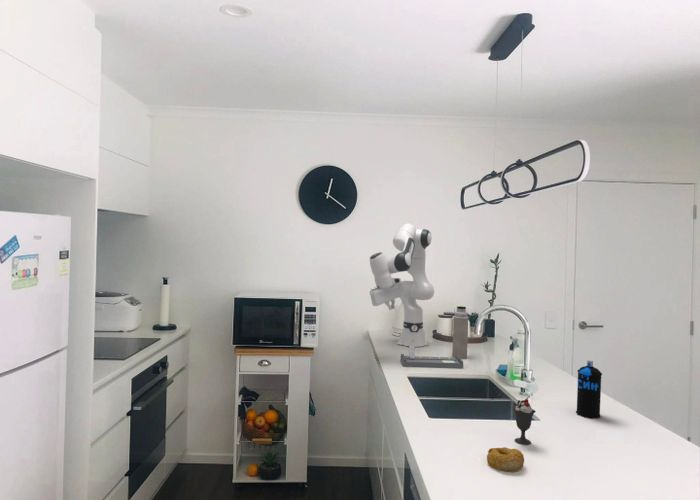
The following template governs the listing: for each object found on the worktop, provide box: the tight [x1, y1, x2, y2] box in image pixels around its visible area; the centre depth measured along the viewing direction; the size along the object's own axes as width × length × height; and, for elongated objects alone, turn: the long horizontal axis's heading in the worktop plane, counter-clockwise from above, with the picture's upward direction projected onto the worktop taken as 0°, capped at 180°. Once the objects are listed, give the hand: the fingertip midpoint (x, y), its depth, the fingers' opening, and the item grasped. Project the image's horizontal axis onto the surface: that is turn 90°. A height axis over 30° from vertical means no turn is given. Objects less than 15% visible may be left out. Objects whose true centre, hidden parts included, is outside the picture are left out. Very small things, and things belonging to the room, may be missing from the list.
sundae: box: [512, 395, 536, 446], centre depth 150 cm, size 7×7×15 cm
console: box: [400, 353, 464, 369], centre depth 247 cm, size 13×30×4 cm, turn 90°
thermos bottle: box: [451, 305, 469, 360], centre depth 265 cm, size 8×8×28 cm
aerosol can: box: [575, 359, 603, 419], centre depth 177 cm, size 8×8×20 cm
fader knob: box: [408, 340, 416, 359], centre depth 246 cm, size 3×2×9 cm
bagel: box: [486, 446, 525, 473], centre depth 134 cm, size 10×11×5 cm
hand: (392, 309), depth 250 cm, fingers closed
